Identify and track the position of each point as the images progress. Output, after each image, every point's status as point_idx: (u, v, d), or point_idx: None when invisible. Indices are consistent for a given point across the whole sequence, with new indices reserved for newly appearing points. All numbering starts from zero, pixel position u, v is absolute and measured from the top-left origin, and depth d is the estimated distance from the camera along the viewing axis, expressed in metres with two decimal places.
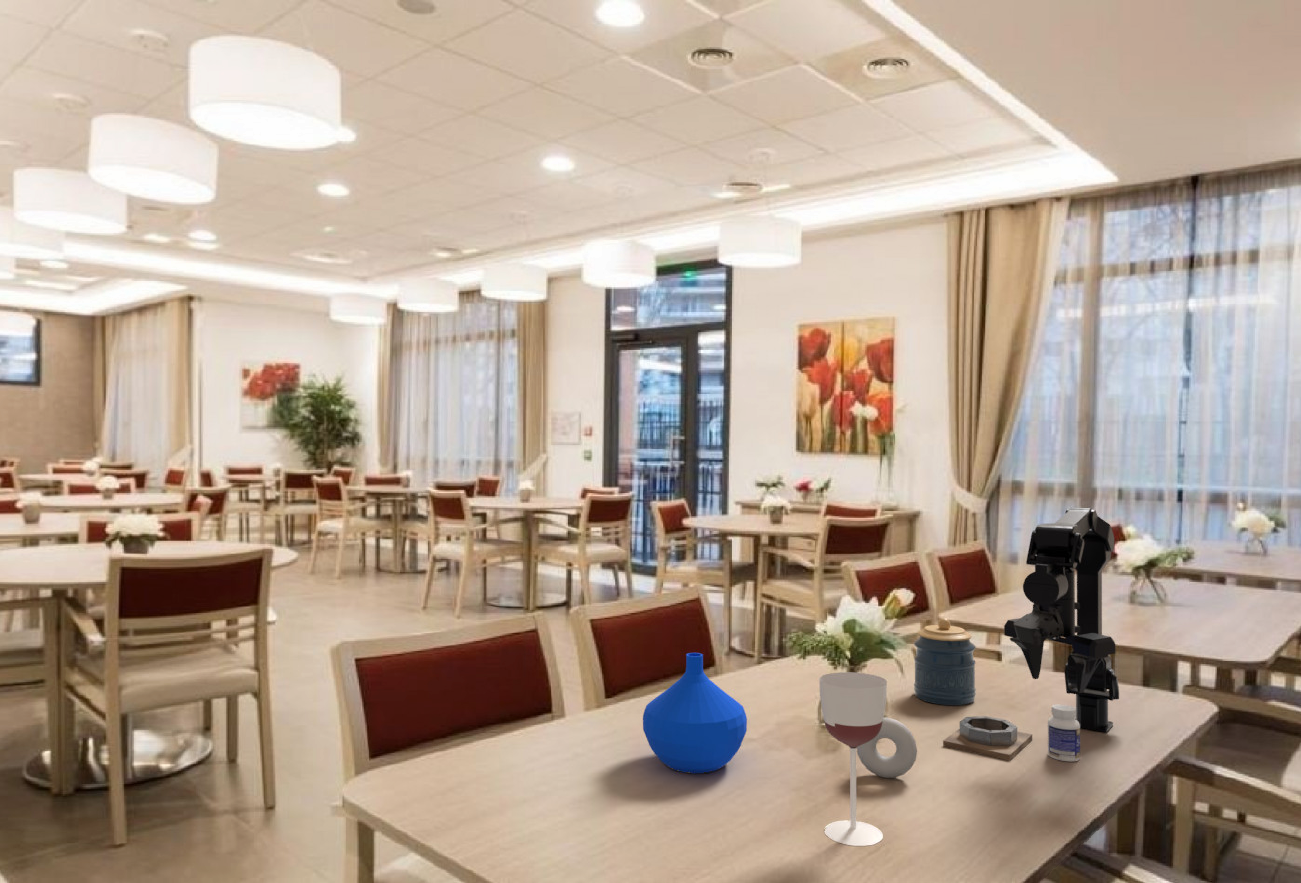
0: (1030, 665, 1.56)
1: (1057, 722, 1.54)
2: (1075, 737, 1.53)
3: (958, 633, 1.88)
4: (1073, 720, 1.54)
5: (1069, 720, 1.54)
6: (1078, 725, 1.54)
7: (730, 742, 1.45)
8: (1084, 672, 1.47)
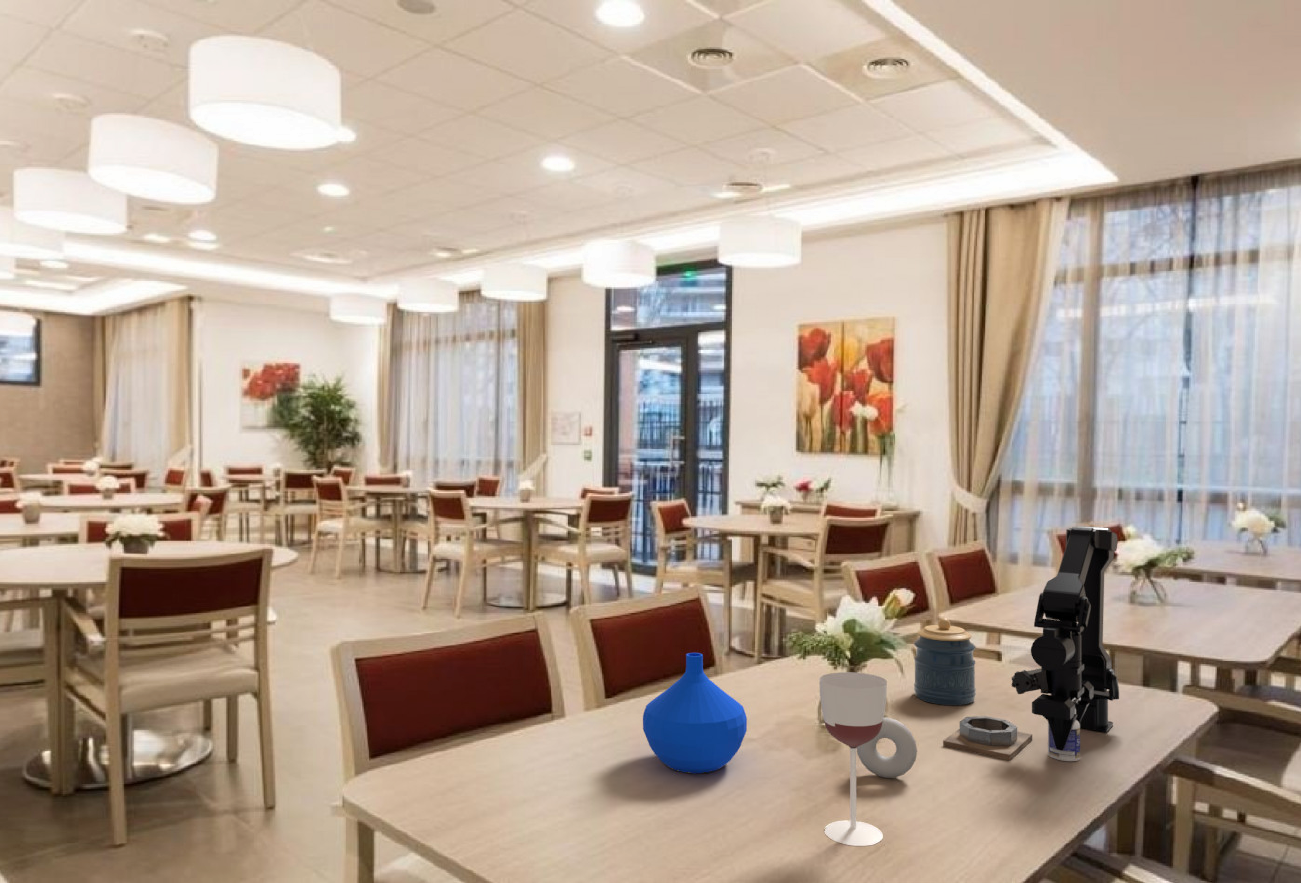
0: None
1: None
2: (1075, 737, 1.53)
3: (958, 633, 1.88)
4: None
5: None
6: (1078, 725, 1.54)
7: (729, 742, 1.45)
8: (1055, 730, 1.53)
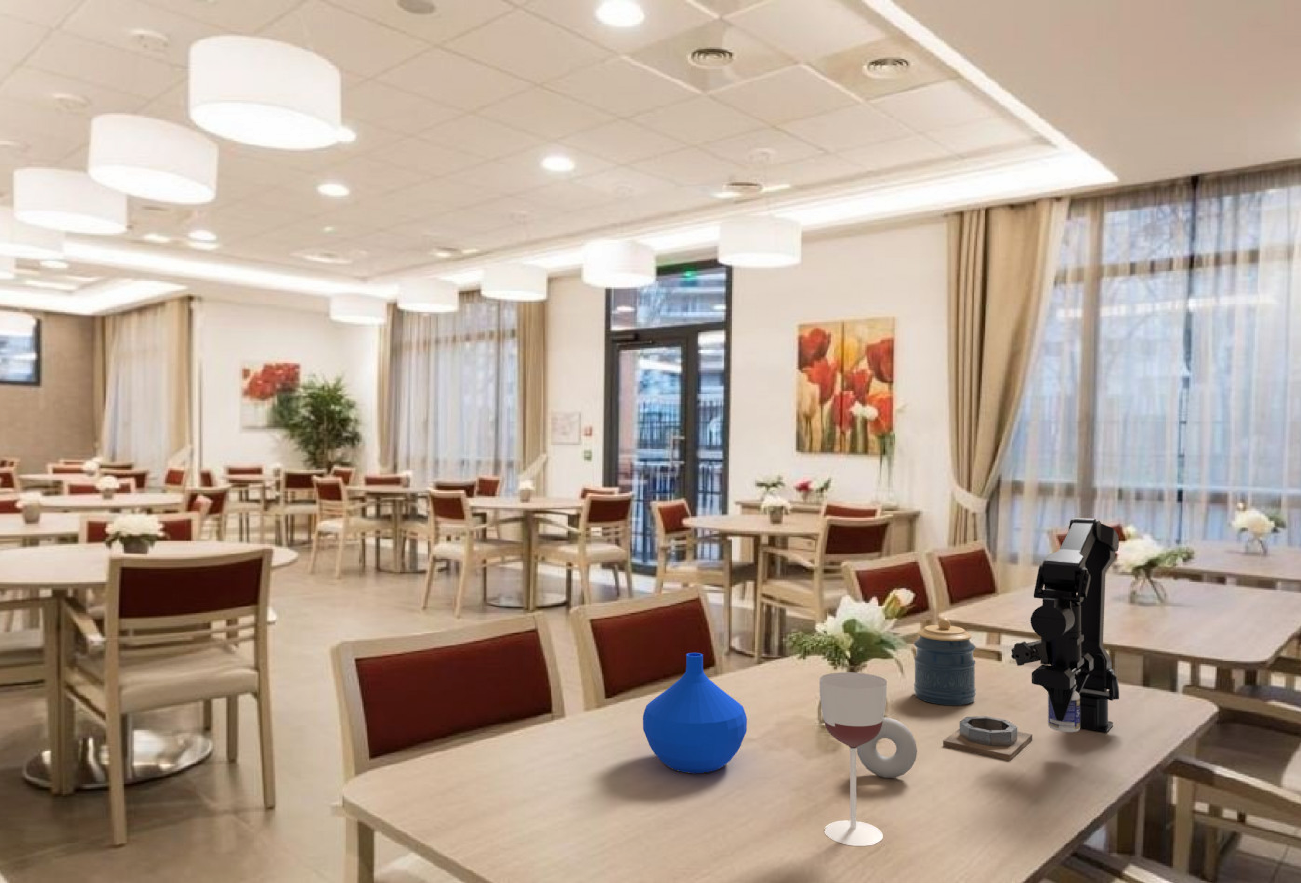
0: None
1: None
2: (1075, 708, 1.53)
3: (958, 633, 1.88)
4: None
5: None
6: (1078, 696, 1.54)
7: (730, 742, 1.45)
8: (1054, 700, 1.53)
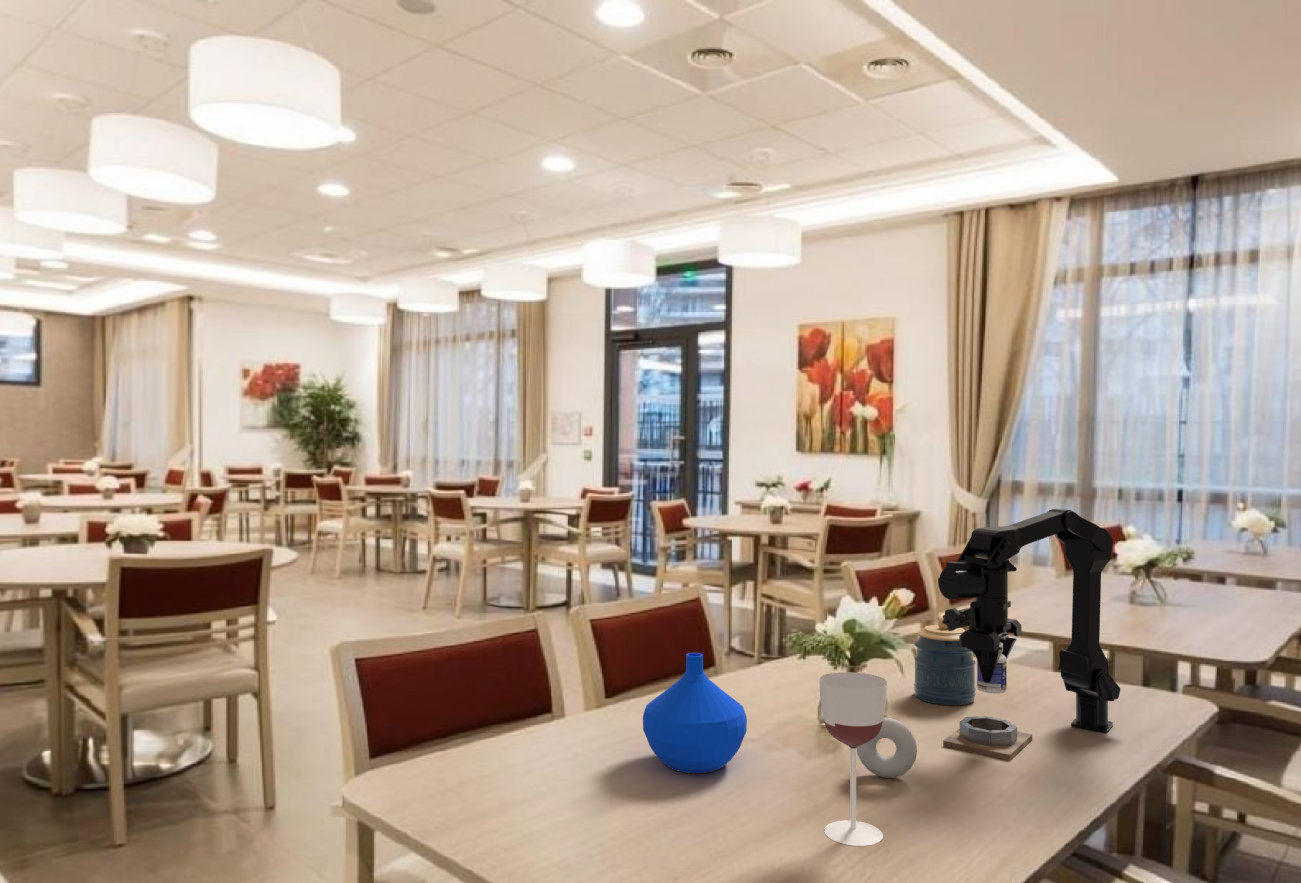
0: None
1: None
2: (1001, 670, 1.60)
3: (958, 633, 1.88)
4: (1000, 654, 1.61)
5: None
6: (1004, 659, 1.61)
7: (730, 742, 1.45)
8: (982, 663, 1.60)
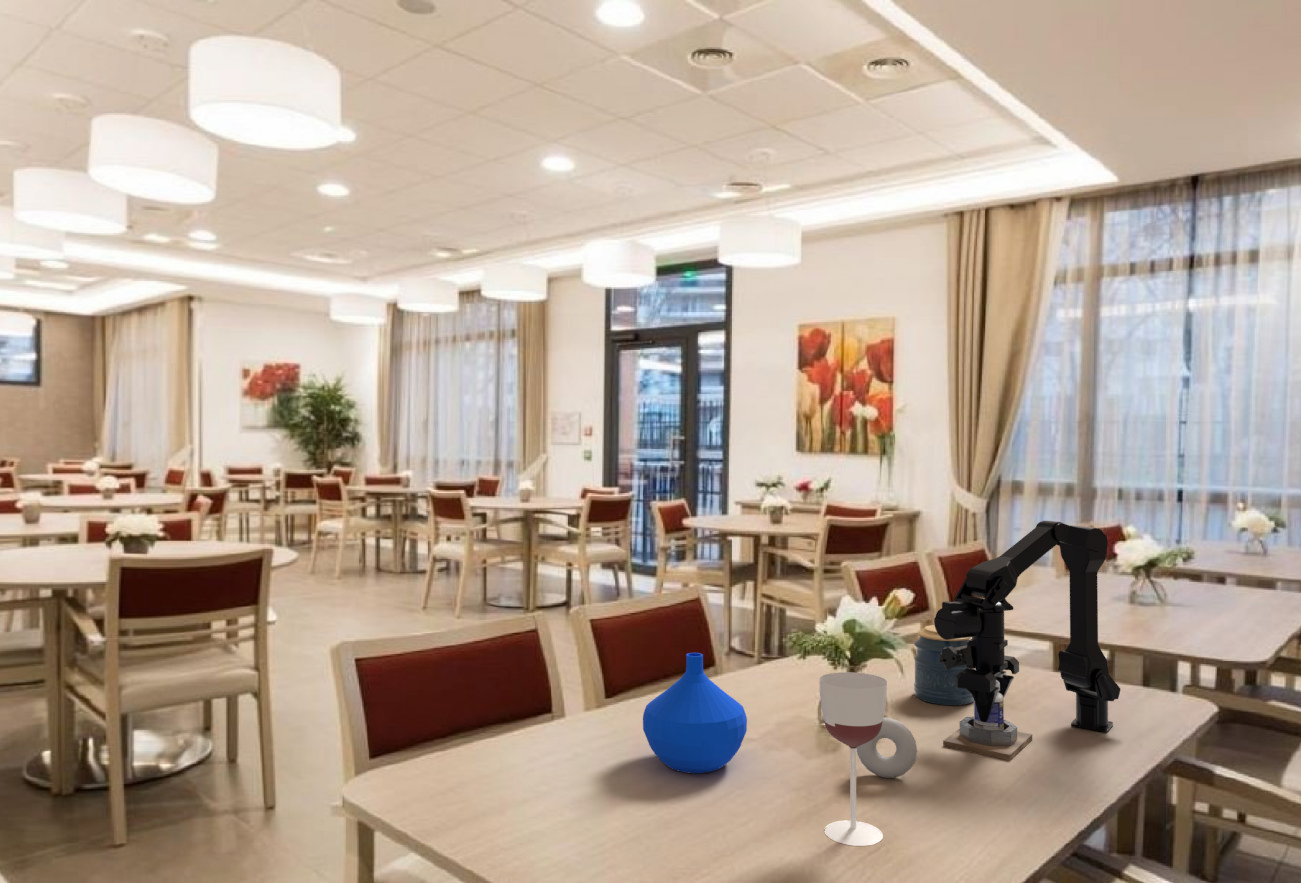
0: None
1: None
2: (998, 709, 1.60)
3: None
4: (997, 693, 1.62)
5: None
6: (1001, 698, 1.61)
7: (730, 742, 1.45)
8: (978, 702, 1.60)
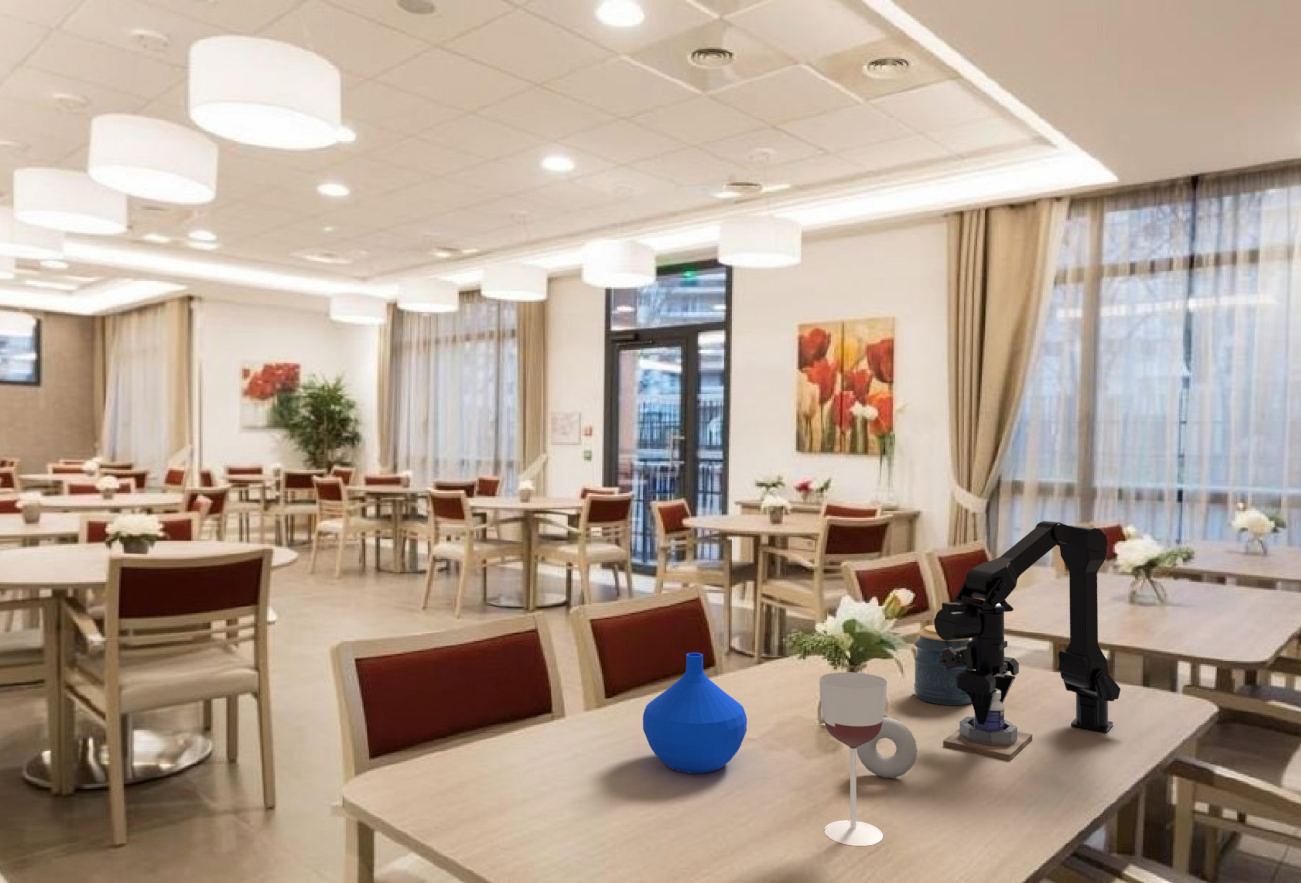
0: None
1: None
2: (999, 718, 1.61)
3: None
4: (998, 701, 1.62)
5: (993, 701, 1.61)
6: (1002, 706, 1.61)
7: (730, 742, 1.45)
8: (976, 705, 1.59)
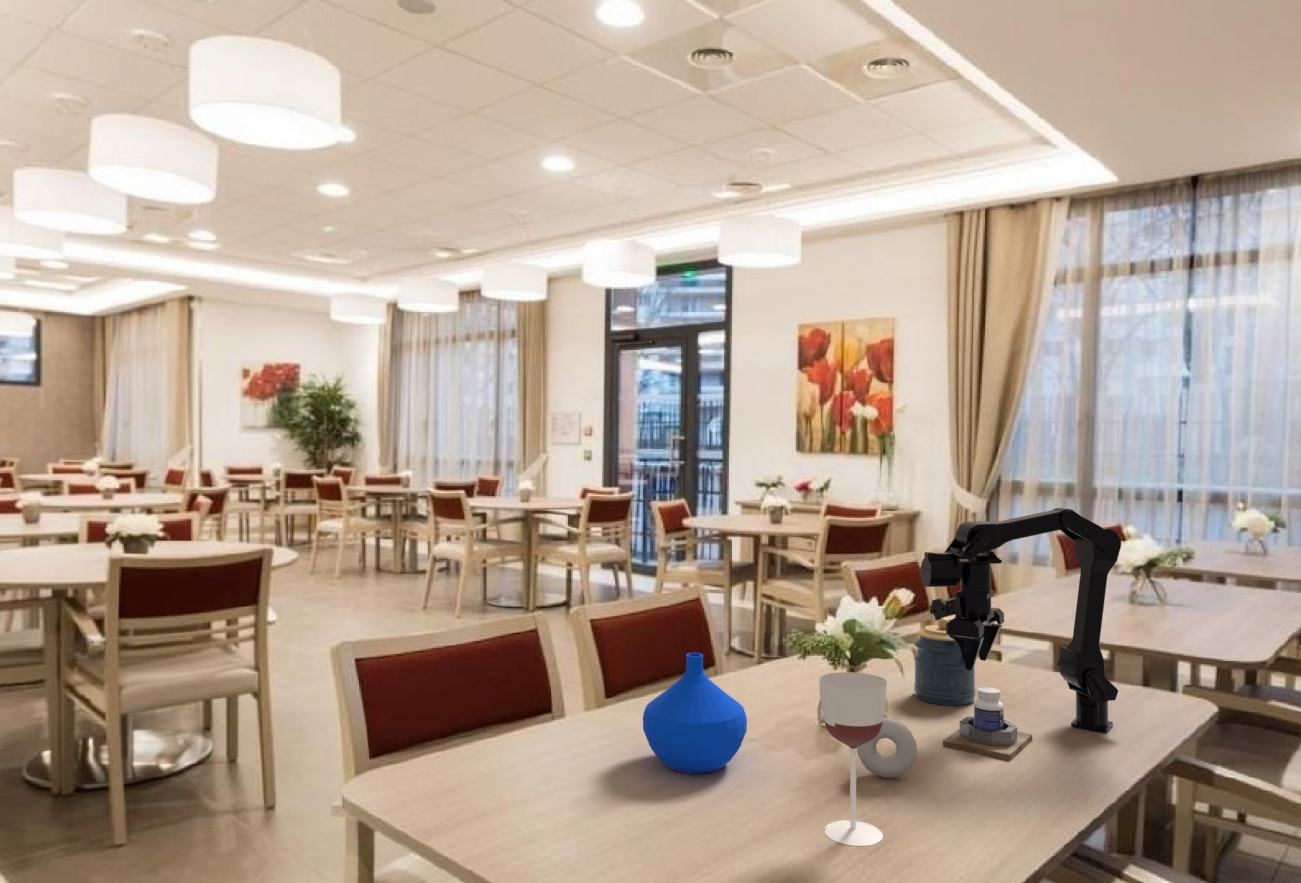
0: None
1: (981, 703, 1.62)
2: (998, 718, 1.61)
3: None
4: (997, 701, 1.62)
5: (992, 701, 1.61)
6: (1001, 706, 1.61)
7: (730, 742, 1.45)
8: (964, 651, 1.67)
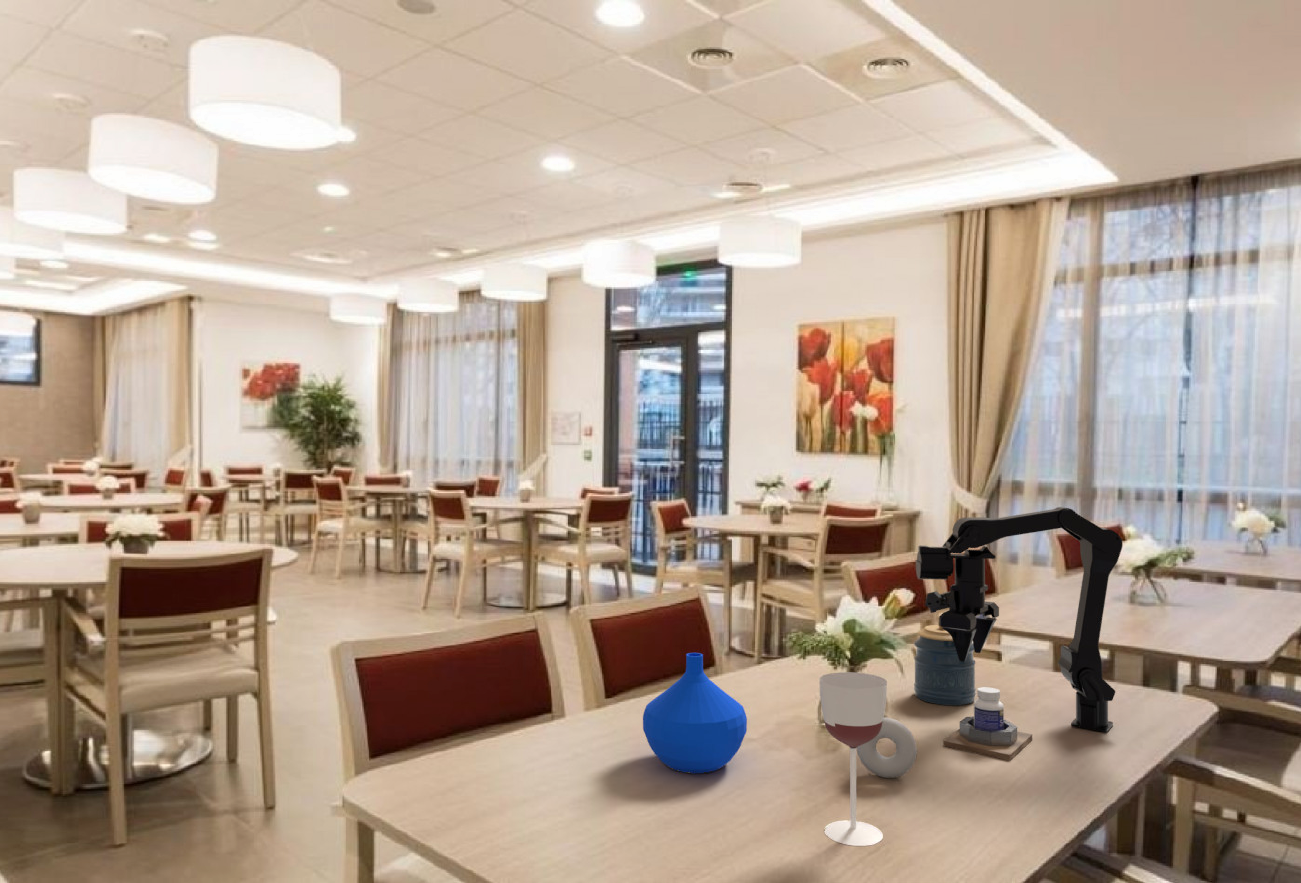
0: (973, 640, 1.80)
1: (981, 703, 1.62)
2: (998, 718, 1.61)
3: None
4: (997, 701, 1.62)
5: (992, 701, 1.61)
6: (1001, 706, 1.61)
7: (730, 742, 1.45)
8: (957, 643, 1.72)
